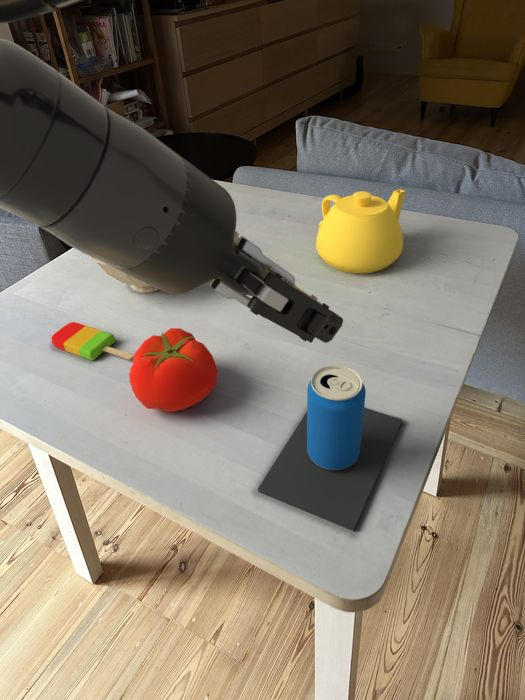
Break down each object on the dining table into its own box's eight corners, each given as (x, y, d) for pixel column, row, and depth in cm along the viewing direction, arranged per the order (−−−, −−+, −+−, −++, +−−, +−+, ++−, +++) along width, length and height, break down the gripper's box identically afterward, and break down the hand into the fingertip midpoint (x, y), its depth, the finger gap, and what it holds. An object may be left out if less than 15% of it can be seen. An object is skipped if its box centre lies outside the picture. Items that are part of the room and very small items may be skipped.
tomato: (204, 431, 71) (196, 384, 66) (120, 416, 74) (105, 369, 69) (233, 370, 81) (228, 324, 75) (158, 359, 84) (148, 314, 78)
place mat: (318, 395, 75) (318, 392, 75) (402, 422, 71) (402, 419, 70) (257, 491, 63) (257, 488, 63) (354, 531, 59) (354, 528, 58)
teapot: (360, 287, 97) (365, 222, 89) (291, 251, 108) (290, 190, 100) (430, 250, 106) (440, 188, 98) (359, 220, 118) (363, 162, 110)
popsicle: (74, 328, 91) (71, 319, 90) (143, 351, 85) (141, 342, 84) (50, 346, 87) (46, 337, 86) (121, 372, 81) (118, 363, 80)
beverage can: (320, 426, 70) (322, 356, 62) (367, 444, 67) (375, 372, 60) (298, 461, 66) (297, 390, 58) (347, 481, 63) (352, 409, 55)
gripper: (237, 187, 25) (391, 305, 37) (124, 122, 35) (275, 232, 47) (154, 318, 27) (329, 392, 38) (67, 220, 36) (228, 303, 48)
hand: (299, 304), depth 43 cm, fingers open, 8 cm apart
